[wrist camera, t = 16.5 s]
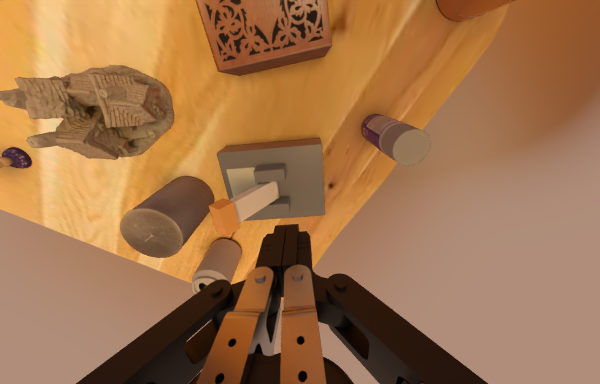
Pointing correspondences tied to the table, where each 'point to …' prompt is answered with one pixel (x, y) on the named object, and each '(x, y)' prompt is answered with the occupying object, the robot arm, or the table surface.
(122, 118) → the ceramic cottage
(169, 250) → the pillar candle
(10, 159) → the toy lamp
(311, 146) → the box
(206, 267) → the can
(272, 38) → the tissue box cover
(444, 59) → the table surface
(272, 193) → the breaker lever
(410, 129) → the container
